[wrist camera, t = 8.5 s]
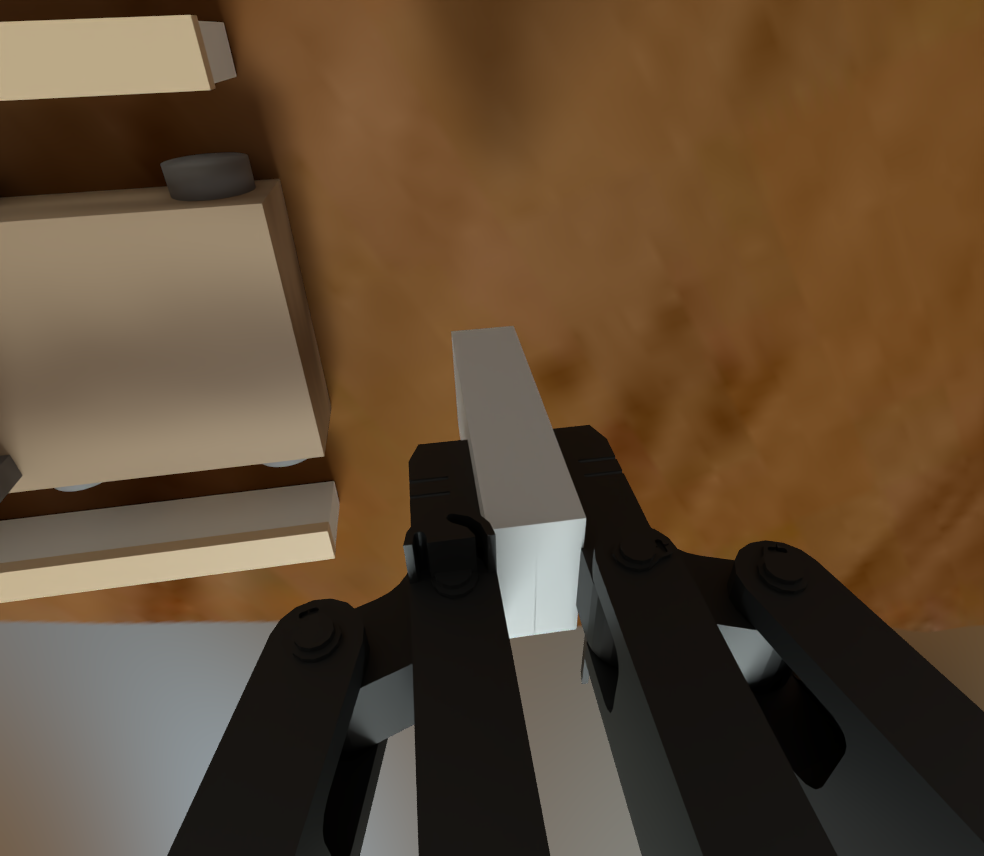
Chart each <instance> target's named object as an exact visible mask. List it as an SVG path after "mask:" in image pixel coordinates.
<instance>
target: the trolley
mask: <svg viewBox="0 0 984 856" xmlns="http://www.w3.org/2000/svg"><path fill="white" fill-rule="evenodd" d="M160 165H161V168H162V171H163V174H164V177H165V180H166V183H167V186H164V187H149V188H135V189H120V190H105V191H90V192H75V193H61V194H46V195H31V196H16V197H1V198H0V503H1V501H2V500H3V499H4V498H5V497H6V495H7V494H8V493H14V492H23V491H31V490H40V489H48V488H55V489H57V490H60V491H79V490H84V489H87V488H90V487H93V486H96V485H98V484H100V483H102V482H109V481H117V480H126V479H135V478H143V477H152V476H160V475H169V474H178V473H186V472H195V471H204V470H212V469H221V468H229V467H238V466H247V465H255V464H264V465H266V466H271V467H285V466H290V465H294V464H297V463H300V462H302V461H304V460H306V459H308V458H316V457H324V455H325V449H326V442H327V435H328V428H329V421H330V414H331V404H330V400H329V395H328V391H327V386H326V382H325V377H324V373H323V368H322V364H321V360H320V355H319V351H318V346H317V342H316V337H315V333H314V328H313V324H312V320H311V315H310V311H309V306H308V302H307V297H306V293H305V289H304V284H303V280H302V275H301V271H300V266H299V262H298V257H297V253H296V249H295V244H294V240H293V235H292V231H291V226H290V222H289V217H288V213H287V209H286V204H285V200H284V195H283V191H282V186H281V182H280V179H268V180H254V178H253V174H252V170H251V165H250V161H249V157H248V155H247V154H244V153H233V152H224V153H207V154H198V155H190V156H184V157H179V158H174V159H170V160H167V161H164V162H162V163H161V164H160Z"/></svg>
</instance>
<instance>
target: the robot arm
mask: <svg viewBox="0 0 984 856" xmlns="http://www.w3.org/2000/svg"><path fill="white" fill-rule="evenodd" d="M451 334H452V347H453V360H454V373H455V386H456V399H457V413H458V425H459V432H460V438H461V440H458V441H448V442H439V443H429V444H420V445H418V446H417V448H416V450H415V452H414V453H413V455H412V457H411V459H410V460H409V482H410V484H409V485H410V513H411V528H410V529H409V530H408V531H407V532H406V537H405V541H404V545H403V547H404V553H405V559H406V565H407V570H408V573H407V575H406V576H405V577H404V579H403V580H402V581H401V583H400V584H399V585H398V586H397V587H395V588H394V589H393V590H392V591H390V592H389V593H388V594H386V595H384V596H382V597H380V598H378V599H376V600H374V601H371V602H369V603H367V604H364V605H362V606H360V607H357V608H355V609H354V608H353V607H352V606H351V605H349V604H348V603H347V602H343V601H339V600H335V599H322V600H313V601H311V602H308V603H306V604H303V605H301V606H298V607H296V608H295V609H293V610H292V611H291V612H289V613H288V614H287V615H286V616H284V617H283V618H282V619H281V620H280V621H279V622H278V624H277V625H276V627H275V628H274V630H273V631H272V633H271V634H270V636H269V638H268V640H267V642H266V645H265V647H264V649H263V651H262V653H261V655H260V657H259V660H258V662H257V664H256V666H255V668H254V671H253V672H252V675H251V677H250V679H249V681H248V683H247V685H246V687H245V690H244V692H243V694H242V696H241V698H240V701H239V703H238V705H237V707H236V709H235V711H234V713H233V715H232V718H231V720H230V722H229V724H228V727H227V728H226V731H225V733H224V735H223V737H222V739H221V741H220V743H219V745H218V748H217V750H216V752H215V754H214V756H213V758H212V761H211V763H210V765H209V767H208V769H207V771H206V773H205V776H204V778H203V780H202V782H201V784H200V786H199V789H198V791H197V793H196V795H195V797H194V799H193V801H192V804H191V806H190V808H189V810H188V812H187V814H186V816H185V819H184V821H183V823H182V825H181V827H180V829H179V831H178V834H177V836H176V838H175V840H174V842H173V844H172V846H171V849H170V851H169V853H168V855H167V856H360V852H361V848H362V844H363V840H364V835H365V832H366V827H367V823H368V819H369V815H370V811H371V806H372V802H373V798H374V794H375V790H376V786H377V782H378V777H379V773H380V769H381V765H382V761H383V756H384V752H385V748H386V744H387V740H388V737H390V736H392V735H394V734H396V733H398V732H400V731H402V730H404V729H406V728H408V727H410V726H412V725H414V726H415V754H416V755H415V756H416V785H417V816H418V845H419V856H550V852H549V847H548V841H547V836H546V831H545V826H544V820H543V815H542V809H541V804H540V799H539V793H538V788H537V783H536V778H535V772H534V767H533V762H532V756H531V751H530V746H529V740H528V735H527V730H526V725H525V720H524V714H523V708H522V703H521V698H520V692H519V687H518V682H517V676H516V672H515V666H514V660H513V655H512V650H511V645H510V639H509V638H516V637H522V636H530V635H537V634H544V633H551V632H559V631H566V630H573V629H576V627H577V616H578V613H579V617H580V620H581V623H582V627H583V629H584V633H585V638H584V647H583V657H582V666H581V680H582V684H585V683H588V679H589V676H590V679H591V683H592V686H593V689H594V693H595V696H596V700H597V703H598V707H599V710H600V713H601V717H602V720H603V723H604V727H605V730H606V734H607V737H608V741H609V744H610V747H611V751H612V755H613V758H614V762H615V765H616V768H617V772H618V775H619V778H620V782H621V786H622V789H623V792H624V796H625V799H626V803H627V806H628V810H629V813H630V816H631V820H632V823H633V826H634V830H635V834H636V837H637V840H638V844H639V847H640V851H641V854H642V856H984V712H983V711H982V710H981V709H980V708H979V707H978V706H977V705H976V704H975V703H973V702H972V701H971V700H970V699H969V698H968V697H967V696H966V695H965V694H964V693H962V692H961V691H960V690H959V689H958V688H957V687H956V686H955V685H954V684H952V683H951V682H950V681H949V680H948V679H947V678H946V677H945V676H944V675H943V674H941V673H940V672H939V671H938V670H937V669H936V668H935V667H934V666H933V665H931V664H930V663H929V662H928V661H927V660H926V659H925V658H923V656H921V655H920V654H919V653H918V652H917V651H916V650H915V649H914V648H913V647H911V646H910V645H909V644H908V643H907V642H906V641H905V640H904V639H903V638H902V637H900V636H899V635H898V634H897V633H896V632H895V631H894V630H893V629H892V628H890V627H889V626H888V625H887V624H886V623H885V622H884V621H883V620H882V619H881V618H879V617H878V616H877V615H876V614H875V613H874V612H873V611H872V610H871V609H869V608H868V607H867V606H866V605H865V604H864V603H863V602H862V601H861V600H859V599H858V598H857V597H856V596H855V595H854V594H853V593H852V592H851V591H849V590H848V589H847V588H846V587H845V586H844V585H843V584H842V583H841V582H840V581H838V580H837V579H836V578H835V577H834V576H833V575H832V574H831V573H830V572H828V571H827V570H826V569H825V568H824V567H823V566H822V565H821V564H820V563H818V562H817V561H816V560H815V559H813V558H812V557H811V556H809V555H808V554H806V553H805V552H803V551H802V550H800V549H798V548H795V547H793V546H790V545H787V544H785V543H781V542H773V541H760V542H753V543H750V544H748V545H746V546H745V547H743V548H742V549H740V550H739V552H738V554H737V556H736V558H735V560H728V559H720V558H713V557H706V556H699V555H695V554H690V553H686V552H684V551H681V550H679V549H677V548H676V546H675V545H674V544H673V543H672V541H671V540H670V539H669V538H668V537H666V536H665V535H663V534H662V533H660V532H659V531H657V530H655V529H652V528H651V527H650V525H649V523H648V521H647V519H646V517H645V515H644V513H643V511H642V509H641V507H640V505H639V503H638V501H637V499H636V497H635V495H634V493H633V491H632V489H631V487H630V485H629V483H628V481H627V479H626V477H625V475H624V473H623V474H622V469H621V467H620V465H619V463H618V461H617V459H615V455H614V453H613V451H612V449H611V447H610V445H609V443H608V441H607V439H606V438H605V437H604V436H602V435H601V434H600V433H599V432H598V431H596V430H595V429H594V428H593V427H591V426H590V425H585V426H575V427H566V428H556V429H552V426H551V423H550V421H549V418H548V416H547V413H546V410H545V408H544V405H543V402H542V400H541V397H540V394H539V392H538V389H537V387H536V384H535V381H534V379H533V376H532V373H531V371H530V368H529V365H528V363H527V360H526V357H525V355H524V352H523V350H522V347H521V344H520V342H519V339H518V336H517V334H516V331H515V328H514V326H508V327H496V328H485V329H474V330H462V331H451Z"/></svg>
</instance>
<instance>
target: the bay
mask: <svg viewBox="0 0 984 856" xmlns="http://www.w3.org/2000/svg"><path fill="white" fill-rule="evenodd" d="M234 77H237V76H236V71H235V67H234V63H233V59H232V55H231V51H230V46H229V42H228V38H227V34H226V30H225V26H224V22H209V21H198V18H197V15H173V16H146V17H120V18H93V19H66V20H40V21H13V22H0V101H7V100H26V99H46V98H66V97H86V96H106V95H125V94H145V93H165V92H185V91H204V90H213V89H216V87H215V84H214V83H218V82H221V81H224V80H228V79H231V78H234ZM339 504H340V503H339V499H338V495H337V491H336V487H335V482H334V481H329V482H321V483H313V484H304V485H296V486H288V487H279V488H271V489H263V490H254V491H246V492H237V493H229V494H221V495H212V496H204V497H196V498H187V499H179V500H171V501H162V502H154V503H145V504H137V505H129V506H120V507H112V508H104V509H95V510H87V511H79V512H70V513H62V514H54V515H45V516H37V517H28V518H20V519H12V520H3V521H0V603H3V602H11V601H18V600H26V599H33V598H41V597H48V596H56V595H63V594H71V593H78V592H86V591H93V590H101V589H108V588H116V587H123V586H131V585H138V584H146V583H153V582H161V581H168V580H176V579H183V578H191V577H198V576H206V575H213V574H221V573H228V572H236V571H243V570H251V569H259V568H266V567H274V566H281V565H289V564H296V563H304V562H311V561H319V560H326V559H334V558H335V552H336V548H335V545H336V535H337V524H338V514H339Z"/></svg>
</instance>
